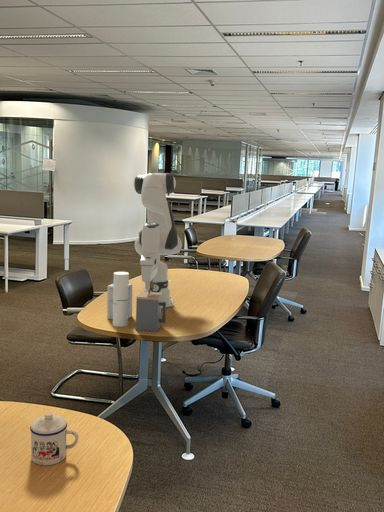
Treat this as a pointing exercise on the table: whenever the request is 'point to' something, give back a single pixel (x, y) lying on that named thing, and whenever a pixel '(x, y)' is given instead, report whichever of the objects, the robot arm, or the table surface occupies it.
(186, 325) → the table surface
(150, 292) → the plunger
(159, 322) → the press jug
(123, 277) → the cylindrical container
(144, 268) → the robot arm
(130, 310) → the supplement box
